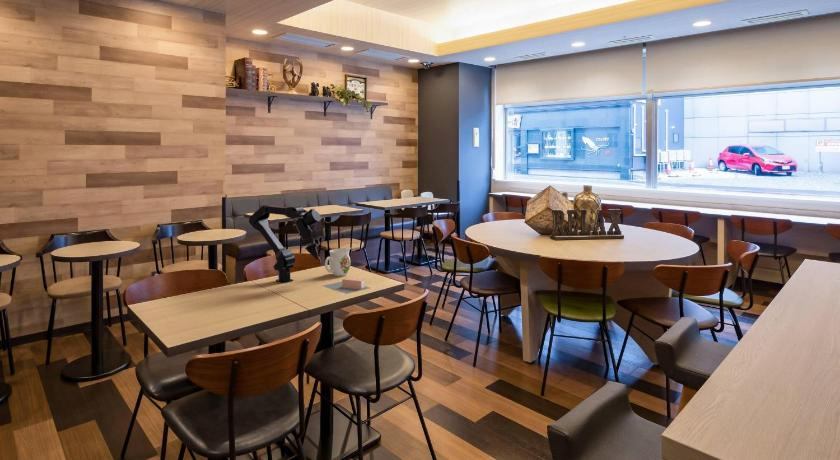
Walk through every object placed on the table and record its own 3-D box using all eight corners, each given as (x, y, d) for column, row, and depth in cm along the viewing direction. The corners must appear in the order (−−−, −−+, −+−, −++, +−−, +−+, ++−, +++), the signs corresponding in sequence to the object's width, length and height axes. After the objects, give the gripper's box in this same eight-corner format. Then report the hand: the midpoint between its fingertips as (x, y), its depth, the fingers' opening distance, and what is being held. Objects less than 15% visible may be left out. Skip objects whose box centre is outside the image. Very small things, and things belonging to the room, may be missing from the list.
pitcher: (318, 277, 262) (317, 251, 260) (344, 271, 276) (343, 246, 274) (333, 280, 256) (332, 253, 254) (358, 273, 270) (357, 248, 268)
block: (342, 279, 240) (360, 281, 236) (346, 277, 243) (365, 279, 239) (342, 287, 240) (361, 289, 236) (346, 285, 244) (365, 287, 240)
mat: (322, 286, 244) (321, 285, 244) (345, 281, 253) (345, 280, 253) (346, 294, 229) (346, 293, 229) (371, 288, 239) (371, 287, 239)
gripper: (316, 220, 237) (330, 250, 235) (322, 225, 255) (335, 253, 254) (294, 230, 236) (308, 261, 235) (302, 234, 254) (315, 262, 253)
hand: (317, 259), depth 244 cm, fingers closed
